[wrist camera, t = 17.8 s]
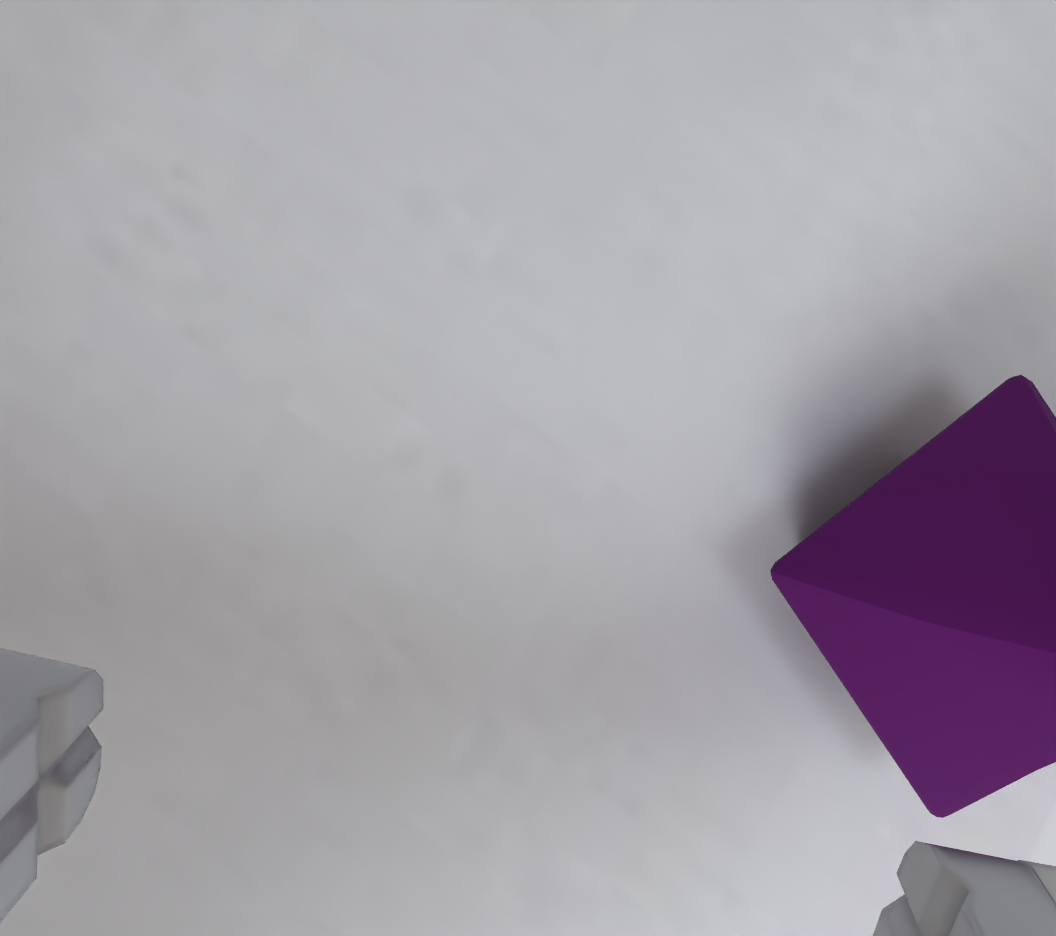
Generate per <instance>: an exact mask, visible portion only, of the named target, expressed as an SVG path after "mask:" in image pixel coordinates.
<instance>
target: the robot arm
mask: <svg viewBox="0 0 1056 936" xmlns="http://www.w3.org/2000/svg"><path fill="white" fill-rule="evenodd" d="M102 709H103V679H102V677H101V676H100V675H99V674H98V672H97V671H96V670H93V669H89V668H84V667H80V666H76V665H71V664H67V663H63V662H58V661H54V660H50V659H45V658H41V657H37V656H32V655H28V654H24V653H19V652H15V651H11V650H6V649H2V648H1V649H0V922H1V921H2V920H3V919H4V917H5V916H6V915H7V914H8V913H9V911H10V910H11V909H12V908H13V906H14V905H15V904H16V903H17V901H18V900H19V899H20V898H21V896H22V895H23V894H24V893H25V891H26V890H27V889H28V888H29V886H30V885H31V884H32V883H33V881H34V880H35V879H36V877H37V855H39V854H42V853H44V852H46V851H48V850H50V849H52V848H55V847H57V846H59V845H61V844H63V843H65V841H66V840H67V839H68V837H69V836H70V835H71V833H72V832H73V831H74V829H75V828H76V827H77V826H78V824H79V823H80V822H81V820H82V818H83V816H84V814H85V811H86V809H87V807H88V805H89V803H90V801H91V799H92V796H93V794H94V792H95V788H96V784H97V780H98V775H99V771H100V764H101V748H102V747H101V745H100V743H99V742H98V740H97V739H96V737H95V736H94V734H93V733H92V731H91V729H90V728H89V726H88V725H89V724H90V723H91V722H92V720H93V719H94V718H95V717H96V716H97V715H98V714H99V713H100V712H101V711H102ZM897 876H898V878H899V881H900V883H901V886H902V888H903V891H904V893H905V895H903V896H902V897H900V898H898V899H897V900H895V901H894V902H892V903H891V904H889V905H888V906H886V907H885V908H883V909H882V911H881V914H880V917H879V920H878V923H877V926H876V928H875V931H874V934H873V936H1056V866H1051V865H1045V864H1039V863H1034V862H1028V861H1022V860H1018V861H1014V860H1009V859H1004V858H999V857H994V856H988V855H983V854H978V853H973V852H968V851H963V850H958V849H953V848H948V847H943V846H938V845H933V844H928V843H923V842H918V841H915V842H914V843H913V845H912V846H911V847H910V848H909V849H908V850H907V851H906V852H905V854H904V856H903V859H902V861H901V864H900V866H899V868H898V871H897Z"/></svg>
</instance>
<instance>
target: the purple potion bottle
mask: <svg viewBox="0 0 1056 936" xmlns="http://www.w3.org/2000/svg"><path fill="white" fill-rule="evenodd" d="M770 571H771V576H772V580H773V581H774V583H775V584H776V586H777V587H778V589H779V590H780V592H781V593H782V595H783V596H784V598H785V599H786V600H787V602H788V603H789V605H790V606H791V608H792V609H793V611H794V612H795V614H796V615H797V617H798V618H799V620H800V621H801V623H802V624H803V626H804V627H805V629H806V630H807V632H808V633H809V635H810V636H811V637H812V639H813V640H814V642H815V643H816V645H817V646H818V648H819V649H820V651H821V652H822V654H823V655H824V657H825V658H826V660H827V661H828V663H829V664H830V666H831V667H832V669H833V670H834V672H835V673H836V674H837V676H838V677H839V679H840V680H841V682H842V683H843V685H844V686H845V688H846V689H847V691H848V692H849V694H850V695H851V697H852V698H853V700H854V701H855V703H856V704H857V706H858V707H859V709H860V710H861V712H862V713H863V714H864V716H865V717H866V719H867V720H868V722H869V723H870V725H871V726H872V728H873V729H874V731H875V732H876V734H877V735H878V737H879V738H880V740H881V741H882V743H883V744H884V746H885V747H886V749H887V750H888V751H889V753H890V754H891V756H892V757H893V759H894V760H895V762H896V763H897V765H898V766H899V768H900V769H901V771H902V772H903V774H904V775H905V777H906V778H907V780H908V781H909V783H910V784H911V786H912V787H913V789H914V790H915V791H916V793H917V794H918V796H919V797H920V799H921V800H922V802H923V803H924V805H925V806H926V808H927V809H928V810H929V812H930V813H931V814H933V815H935V816H936V817H942V818H943V817H945V816H948V815H950V814H952V813H954V812H956V811H958V810H960V809H962V808H964V807H966V806H968V805H970V804H972V803H974V802H976V801H978V800H980V799H982V798H984V797H985V796H987V795H989V794H991V793H993V792H995V791H997V790H999V789H1001V788H1003V787H1005V786H1007V785H1009V784H1011V783H1013V782H1015V781H1016V780H1018V779H1020V778H1022V777H1024V776H1026V775H1028V774H1030V773H1032V772H1034V771H1036V770H1038V769H1040V768H1043V767H1045V766H1047V765H1050V764H1052V763H1054V762H1056V417H1055V416H1054V414H1053V413H1052V411H1051V410H1050V408H1049V407H1048V405H1047V404H1046V402H1045V401H1044V399H1043V398H1042V396H1041V395H1040V393H1039V392H1038V390H1037V388H1036V387H1035V385H1034V384H1033V382H1031V381H1030V380H1028V379H1027V378H1025V377H1024V376H1022V375H1019V376H1015V377H1012V378H1009V379H1008V380H1006V381H1005V382H1004V383H1003V384H1001V385H1000V386H999V387H997V388H996V389H995V390H994V391H992V392H991V393H990V394H989V395H987V396H986V397H985V398H983V399H982V400H981V401H980V402H978V403H977V404H976V405H975V406H973V407H972V408H971V409H970V410H968V411H967V412H966V413H964V414H963V415H962V416H961V417H959V418H958V419H957V420H956V421H954V422H953V423H952V424H950V425H949V426H948V427H947V428H945V429H944V430H943V431H942V432H940V433H939V434H938V435H936V436H935V437H934V438H933V439H931V440H930V441H929V442H928V443H926V444H925V445H924V446H923V447H921V448H920V449H919V450H917V451H916V452H915V453H914V454H912V455H911V456H910V457H909V458H907V459H906V460H905V461H903V462H902V463H901V464H900V465H898V466H897V467H896V468H895V469H893V470H892V471H891V472H890V473H888V474H887V475H886V476H884V477H883V478H882V479H881V480H879V481H878V482H877V483H876V484H874V485H873V486H872V487H870V488H869V489H868V490H867V491H865V492H864V493H863V494H862V495H860V496H859V497H858V498H857V499H855V500H854V501H853V502H851V503H850V504H849V505H848V506H846V507H845V508H844V509H843V510H841V511H840V512H839V513H837V514H836V515H835V516H834V517H832V518H831V519H830V520H829V521H827V522H826V523H825V524H823V525H822V526H821V527H820V528H818V529H817V530H816V531H815V532H813V533H812V534H811V535H810V536H808V537H807V538H806V539H804V540H803V541H802V542H801V543H799V544H798V545H797V546H796V547H794V548H793V549H792V550H790V551H789V552H788V553H787V554H785V555H784V556H783V557H782V558H780V559H779V560H778V561H777V562H775V564H774V565H773V567H772V569H771V570H770Z"/></svg>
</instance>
